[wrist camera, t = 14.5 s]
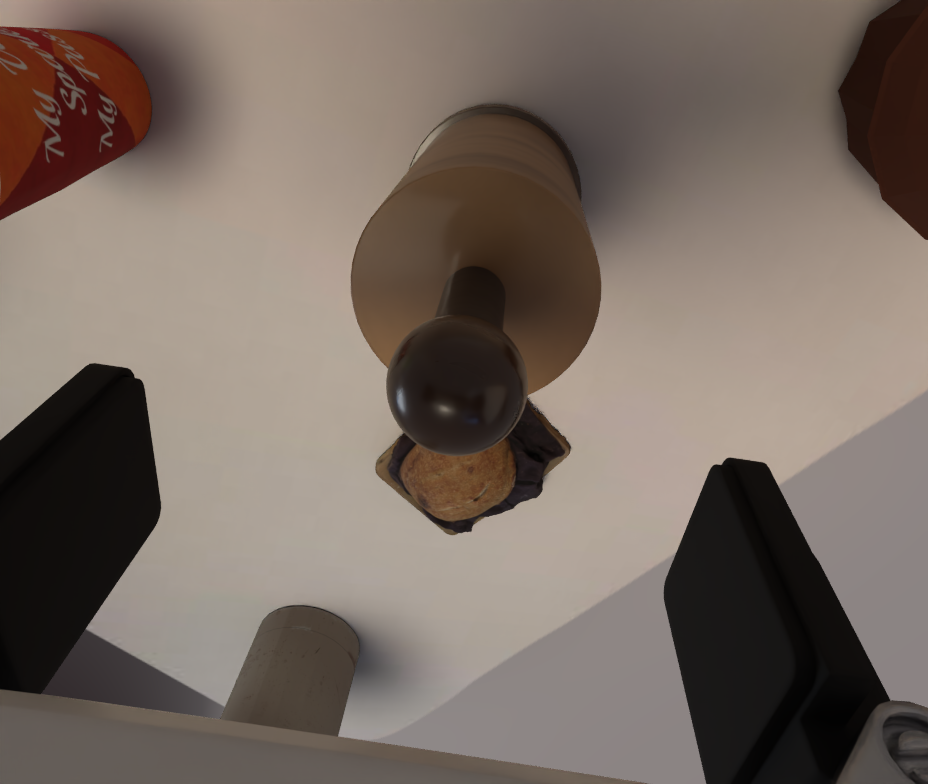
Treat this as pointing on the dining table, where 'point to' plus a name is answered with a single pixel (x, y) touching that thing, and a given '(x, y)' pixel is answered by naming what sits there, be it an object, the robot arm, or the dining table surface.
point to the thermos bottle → (296, 673)
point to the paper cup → (63, 110)
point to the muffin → (893, 108)
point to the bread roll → (475, 474)
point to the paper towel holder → (477, 277)
